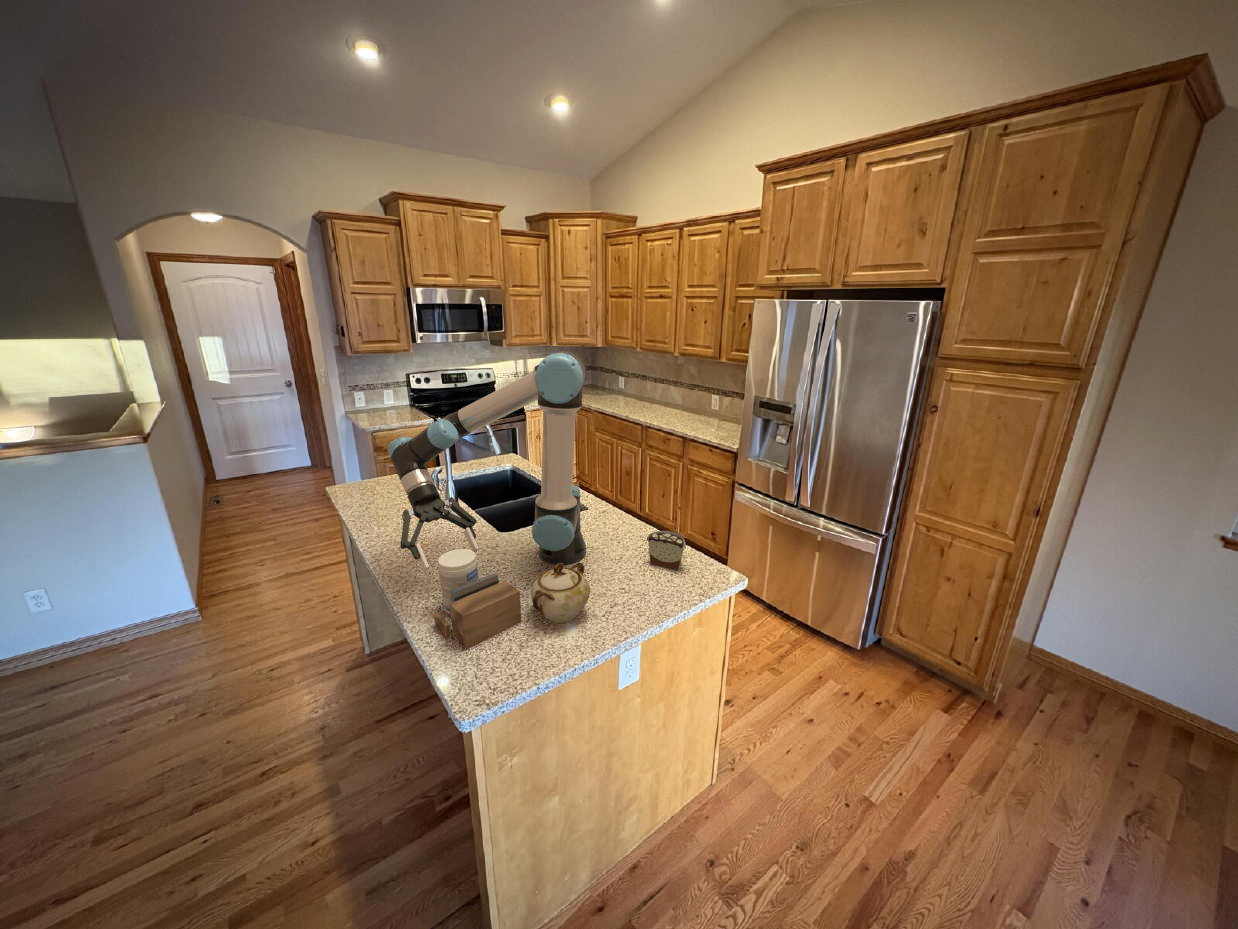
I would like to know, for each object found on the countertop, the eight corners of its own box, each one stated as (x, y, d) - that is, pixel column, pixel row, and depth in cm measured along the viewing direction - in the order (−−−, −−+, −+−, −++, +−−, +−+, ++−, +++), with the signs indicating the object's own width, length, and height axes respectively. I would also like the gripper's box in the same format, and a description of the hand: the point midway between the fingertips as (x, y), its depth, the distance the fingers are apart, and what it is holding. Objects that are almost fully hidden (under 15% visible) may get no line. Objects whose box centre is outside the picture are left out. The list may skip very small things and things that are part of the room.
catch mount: (435, 626, 119) (431, 595, 117) (499, 598, 131) (497, 569, 129) (460, 652, 111) (456, 619, 108) (526, 619, 123) (524, 589, 120)
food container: (689, 564, 151) (691, 535, 147) (683, 573, 145) (685, 543, 142) (652, 555, 155) (653, 527, 152) (645, 564, 150) (646, 534, 147)
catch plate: (453, 624, 119) (449, 589, 116) (496, 605, 127) (494, 571, 124) (457, 628, 117) (453, 592, 114) (500, 608, 125) (498, 574, 122)
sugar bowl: (559, 645, 114) (557, 589, 109) (512, 623, 121) (509, 570, 117) (605, 604, 130) (606, 554, 125) (562, 587, 137) (561, 539, 132)
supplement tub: (480, 615, 124) (474, 565, 119) (441, 620, 122) (434, 569, 117) (483, 594, 133) (478, 546, 128) (447, 597, 131) (440, 549, 126)
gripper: (460, 485, 141) (490, 549, 136) (369, 508, 124) (400, 582, 119) (467, 472, 136) (499, 538, 130) (374, 495, 119) (406, 571, 114)
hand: (452, 559), depth 125 cm, fingers open, 13 cm apart
